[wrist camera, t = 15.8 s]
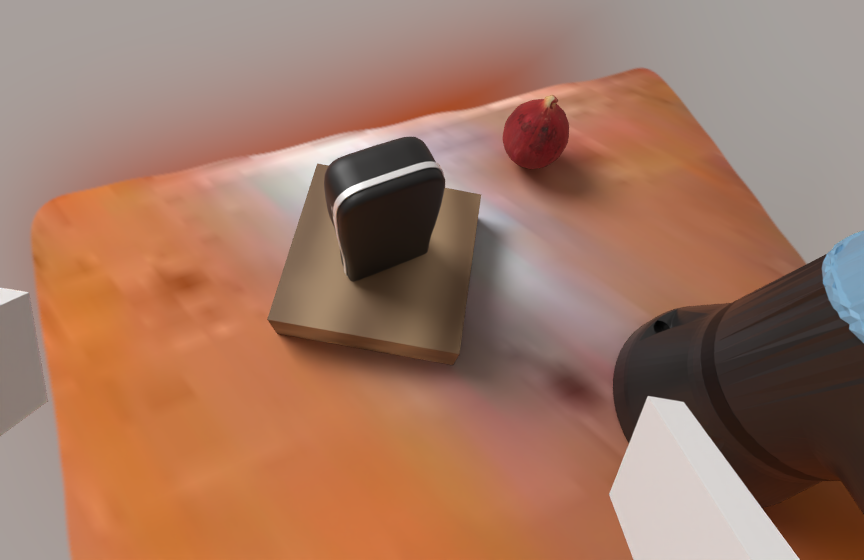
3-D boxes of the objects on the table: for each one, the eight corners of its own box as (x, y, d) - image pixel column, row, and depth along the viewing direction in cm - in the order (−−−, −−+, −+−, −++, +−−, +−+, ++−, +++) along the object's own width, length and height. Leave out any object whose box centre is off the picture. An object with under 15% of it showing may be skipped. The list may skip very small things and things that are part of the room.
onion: (549, 191, 45) (582, 134, 37) (490, 177, 45) (511, 117, 37) (555, 145, 47) (587, 82, 40) (500, 131, 47) (521, 66, 40)
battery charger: (411, 214, 38) (425, 117, 27) (431, 253, 37) (454, 168, 26) (329, 243, 36) (311, 152, 26) (348, 286, 35) (336, 209, 25)
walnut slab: (472, 219, 43) (481, 194, 40) (451, 366, 38) (459, 353, 34) (322, 190, 43) (317, 163, 39) (278, 335, 37) (267, 319, 34)
